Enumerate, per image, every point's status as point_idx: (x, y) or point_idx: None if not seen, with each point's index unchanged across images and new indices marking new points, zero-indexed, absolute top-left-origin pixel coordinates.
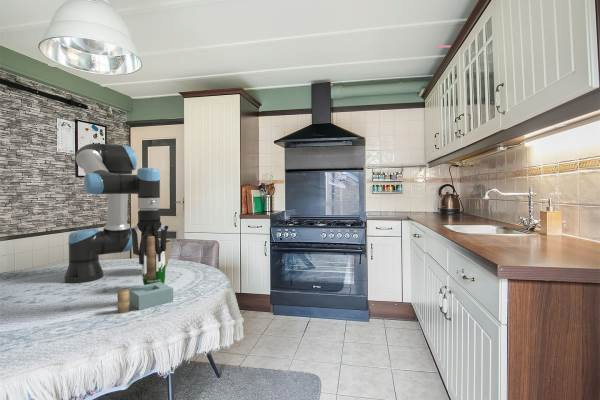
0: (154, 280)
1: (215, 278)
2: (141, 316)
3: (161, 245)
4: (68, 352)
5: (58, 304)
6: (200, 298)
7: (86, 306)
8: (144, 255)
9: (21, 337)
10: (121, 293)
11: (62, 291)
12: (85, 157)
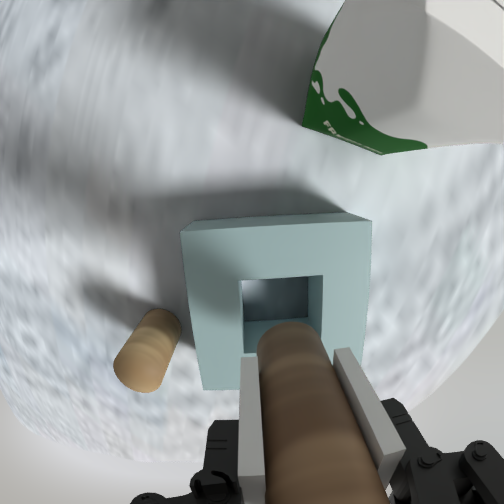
0: (362, 145)
1: None
2: (204, 405)
3: (487, 492)
4: (73, 443)
5: (16, 91)
6: (412, 367)
7: (61, 170)
8: (257, 499)
9: None
10: (130, 386)
11: None
12: None
